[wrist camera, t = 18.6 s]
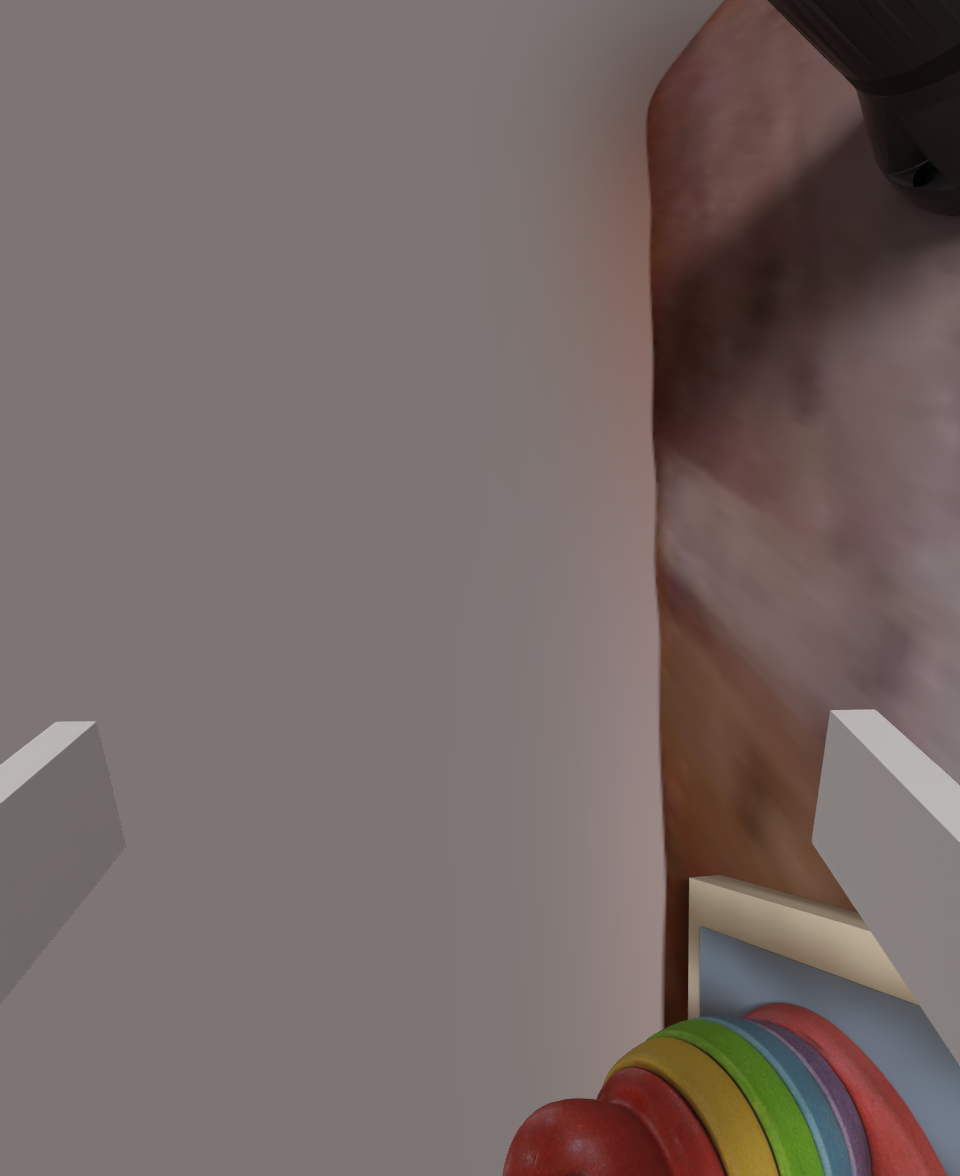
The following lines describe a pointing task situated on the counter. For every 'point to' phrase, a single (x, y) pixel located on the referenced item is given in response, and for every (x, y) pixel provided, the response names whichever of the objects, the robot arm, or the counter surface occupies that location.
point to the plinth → (821, 989)
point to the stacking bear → (733, 1108)
